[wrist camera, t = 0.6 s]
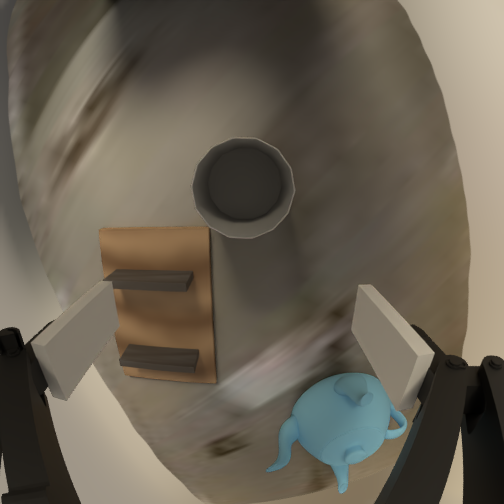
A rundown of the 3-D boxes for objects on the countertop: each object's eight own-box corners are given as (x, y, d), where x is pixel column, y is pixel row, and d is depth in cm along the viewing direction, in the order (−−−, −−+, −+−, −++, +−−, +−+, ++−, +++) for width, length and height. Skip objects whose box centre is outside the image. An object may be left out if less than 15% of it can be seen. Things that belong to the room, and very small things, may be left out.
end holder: (102, 228, 34) (82, 236, 29) (209, 226, 34) (203, 236, 29) (127, 370, 40) (116, 391, 35) (216, 378, 40) (213, 402, 35)
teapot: (258, 414, 42) (261, 475, 30) (342, 338, 38) (371, 395, 27) (329, 445, 45) (342, 495, 33) (405, 382, 41) (435, 430, 29)
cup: (264, 136, 31) (271, 121, 22) (292, 202, 33) (310, 214, 24) (196, 166, 32) (174, 163, 23) (225, 230, 34) (215, 254, 25)
